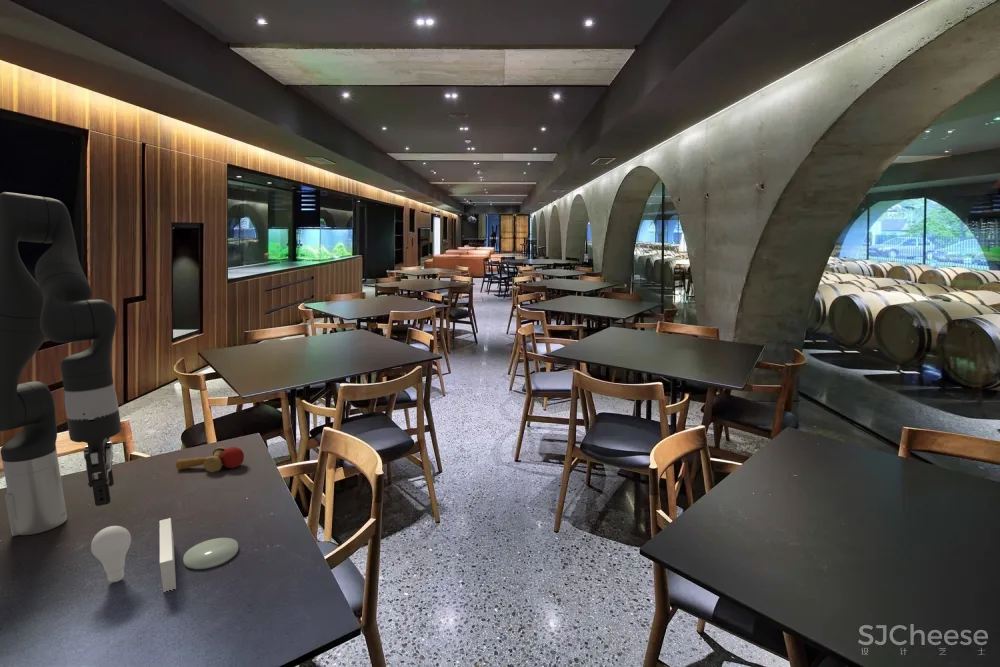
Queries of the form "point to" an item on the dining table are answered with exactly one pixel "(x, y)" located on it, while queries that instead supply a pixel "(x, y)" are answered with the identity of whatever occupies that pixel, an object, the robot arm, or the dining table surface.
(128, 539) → the lightbulb
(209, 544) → the pad
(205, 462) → the kendama
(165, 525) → the wall
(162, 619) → the dining table surface
